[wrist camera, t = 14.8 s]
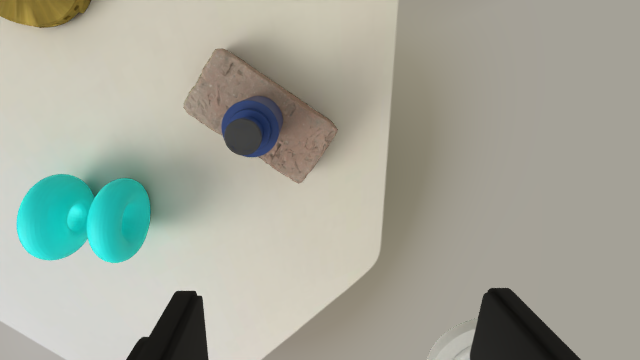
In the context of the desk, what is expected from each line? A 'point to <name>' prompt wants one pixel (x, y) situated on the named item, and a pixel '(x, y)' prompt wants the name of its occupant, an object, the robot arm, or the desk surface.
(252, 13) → the desk surface
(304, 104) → the brick
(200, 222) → the desk surface
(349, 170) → the desk surface
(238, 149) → the bottle
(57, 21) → the compass
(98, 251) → the pair of turquoise discs
